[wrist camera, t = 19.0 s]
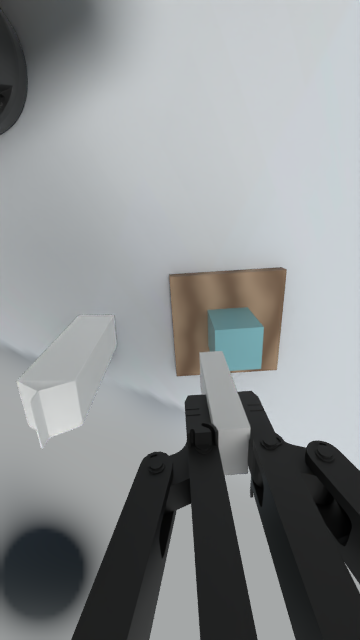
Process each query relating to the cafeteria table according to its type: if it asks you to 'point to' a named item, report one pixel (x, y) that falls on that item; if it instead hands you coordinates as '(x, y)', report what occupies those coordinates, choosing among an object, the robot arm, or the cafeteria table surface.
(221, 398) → the robot arm
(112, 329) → the milk
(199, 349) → the walnut stand
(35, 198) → the cafeteria table surface
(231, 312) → the teal block
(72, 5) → the cafeteria table surface
